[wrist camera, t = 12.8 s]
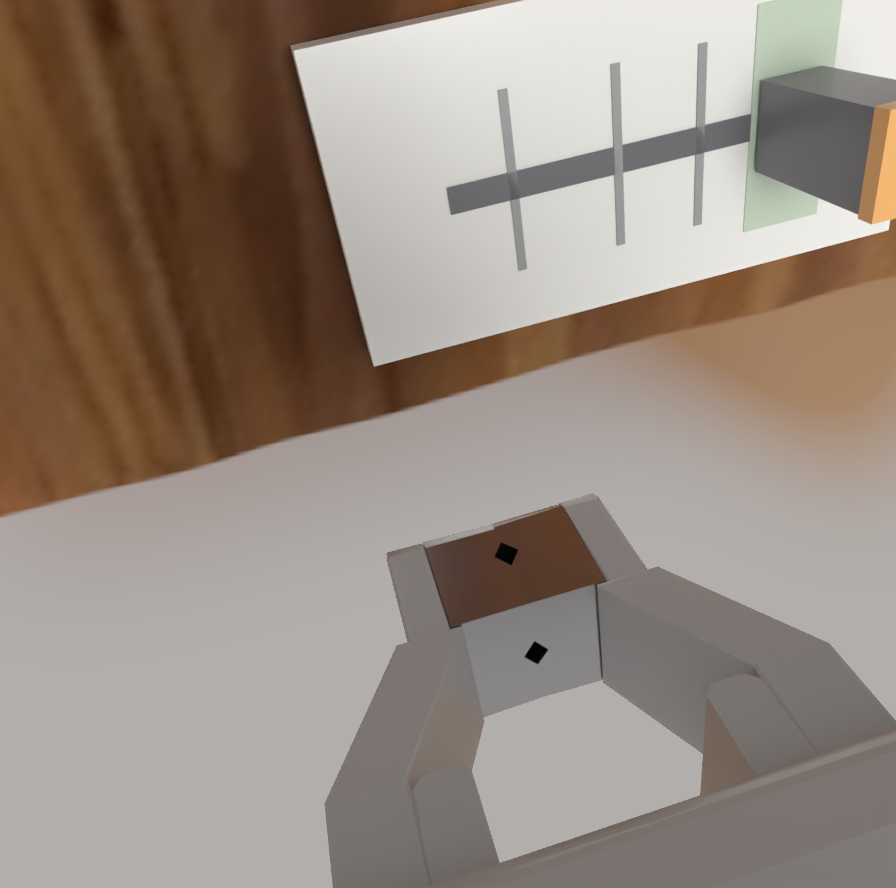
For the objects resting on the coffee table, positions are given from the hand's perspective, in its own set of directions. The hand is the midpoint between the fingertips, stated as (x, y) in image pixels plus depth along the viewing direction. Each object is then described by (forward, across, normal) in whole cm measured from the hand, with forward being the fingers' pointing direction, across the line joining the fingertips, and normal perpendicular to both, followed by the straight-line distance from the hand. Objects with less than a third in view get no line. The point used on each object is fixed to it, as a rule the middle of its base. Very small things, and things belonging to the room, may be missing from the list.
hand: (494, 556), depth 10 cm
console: (+27, -14, +3) cm, 31 cm away
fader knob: (+25, -21, +3) cm, 33 cm away
